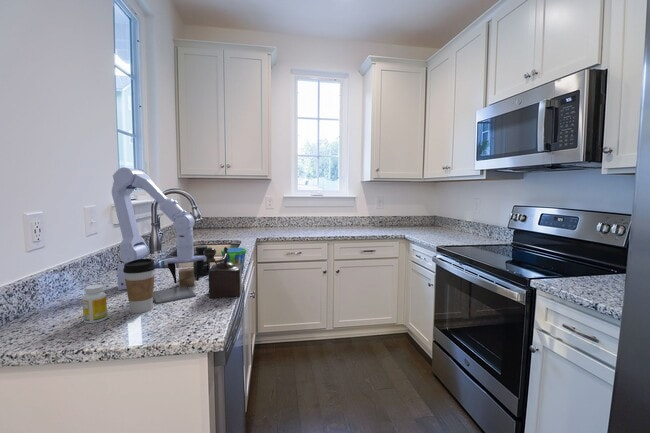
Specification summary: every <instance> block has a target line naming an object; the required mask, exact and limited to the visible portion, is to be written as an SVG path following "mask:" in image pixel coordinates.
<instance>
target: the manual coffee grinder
mask: <svg viewBox="0 0 650 433" xmlns="http://www.w3.org/2000/svg"><path fill="white" fill-rule="evenodd" d="M223 249H224V256H222V258H221V259H215V255H216V254H217V250H216V248H214V247H207V249H205V250H204V251H203V253H204V255H205V256H206V258H207V259H206V262H208V263H210V264H212V263H215V264H213V265H212V266H210V270H209V272H208V298H209V299H231V298H233V299H234V298H240V296H241V295H242V291H243V290H242V288H243V286H242V283H243V281H242V280H243V279H242V277H243V275H242V273H243V272H242V269H241V266H242V264H234V263H231V262H228V261H227V253H228V251H227V250H228V246H224V247H223Z"/></svg>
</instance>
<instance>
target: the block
mask: <svg viewBox="0 0 650 433" xmlns="http://www.w3.org/2000/svg"><path fill="white" fill-rule="evenodd" d="M178 285H179V286H178V287H183V286H188V287H189V288H190V287H195V275H194V270H193V267H186V268H179V269H178Z"/></svg>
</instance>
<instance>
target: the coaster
mask: <svg viewBox="0 0 650 433" xmlns="http://www.w3.org/2000/svg"><path fill="white" fill-rule="evenodd" d="M194 297H197V294H196V293H195V292H194V291H193V290H192V289H191V288H190V287H188V286H183V287H180V286H177V287H173V288H167V289H161V290H156V291H154V290H153V301H155V303H156V304H157V305H159V304H164V303H169V302H174V301H178V300H184V299H190V298H194Z"/></svg>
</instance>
